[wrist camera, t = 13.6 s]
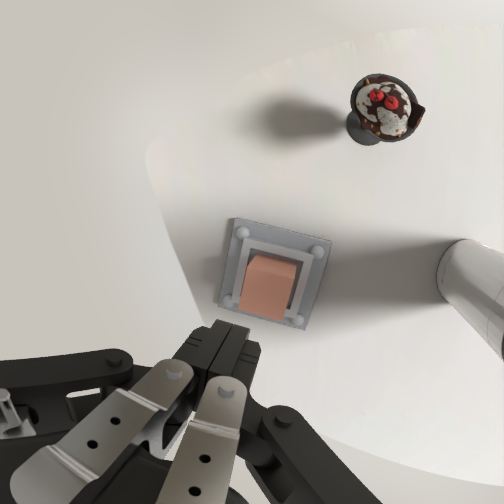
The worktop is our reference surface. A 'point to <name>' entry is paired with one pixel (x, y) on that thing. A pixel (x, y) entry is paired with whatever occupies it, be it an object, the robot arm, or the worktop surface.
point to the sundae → (383, 110)
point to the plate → (282, 247)
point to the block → (267, 286)
